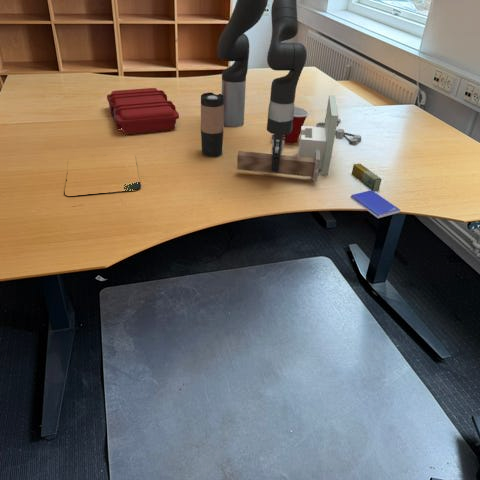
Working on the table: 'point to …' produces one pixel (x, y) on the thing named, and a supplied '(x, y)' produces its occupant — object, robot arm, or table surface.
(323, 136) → the grey upright panel
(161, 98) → the first aid kit
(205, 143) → the travel mug
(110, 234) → the table surface
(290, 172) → the post on square base
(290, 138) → the plastic cup
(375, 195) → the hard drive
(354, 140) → the pulley system
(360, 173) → the medication box
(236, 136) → the table surface
